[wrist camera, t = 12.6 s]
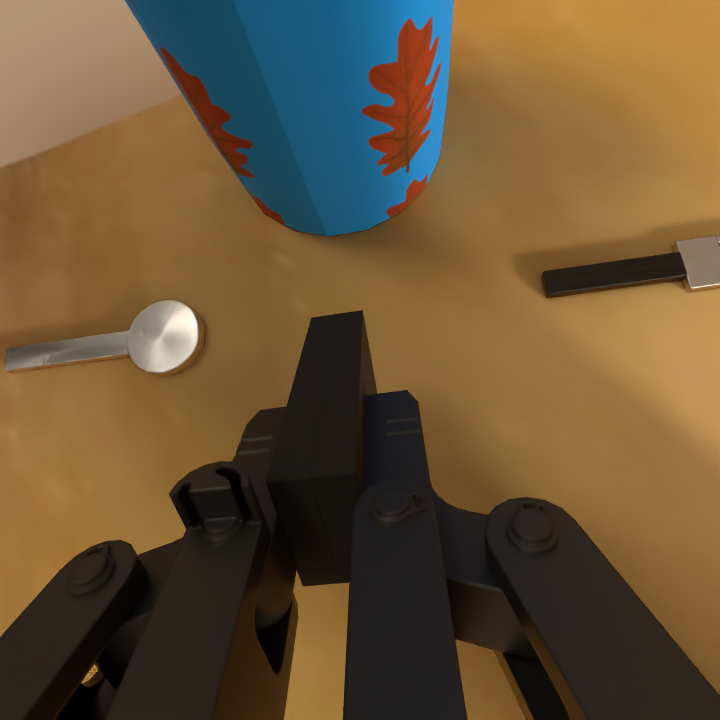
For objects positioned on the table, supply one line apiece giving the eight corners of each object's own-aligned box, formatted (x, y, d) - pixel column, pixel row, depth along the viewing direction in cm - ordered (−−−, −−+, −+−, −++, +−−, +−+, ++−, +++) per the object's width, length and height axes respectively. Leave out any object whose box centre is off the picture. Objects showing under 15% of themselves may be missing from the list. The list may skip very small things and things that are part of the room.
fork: (548, 310, 20) (551, 306, 19) (537, 264, 20) (540, 259, 20) (799, 277, 19) (809, 271, 18) (781, 229, 19) (790, 223, 19)
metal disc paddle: (7, 396, 22) (-4, 394, 22) (15, 327, 23) (5, 322, 23) (205, 371, 21) (199, 368, 21) (205, 299, 22) (199, 294, 22)
